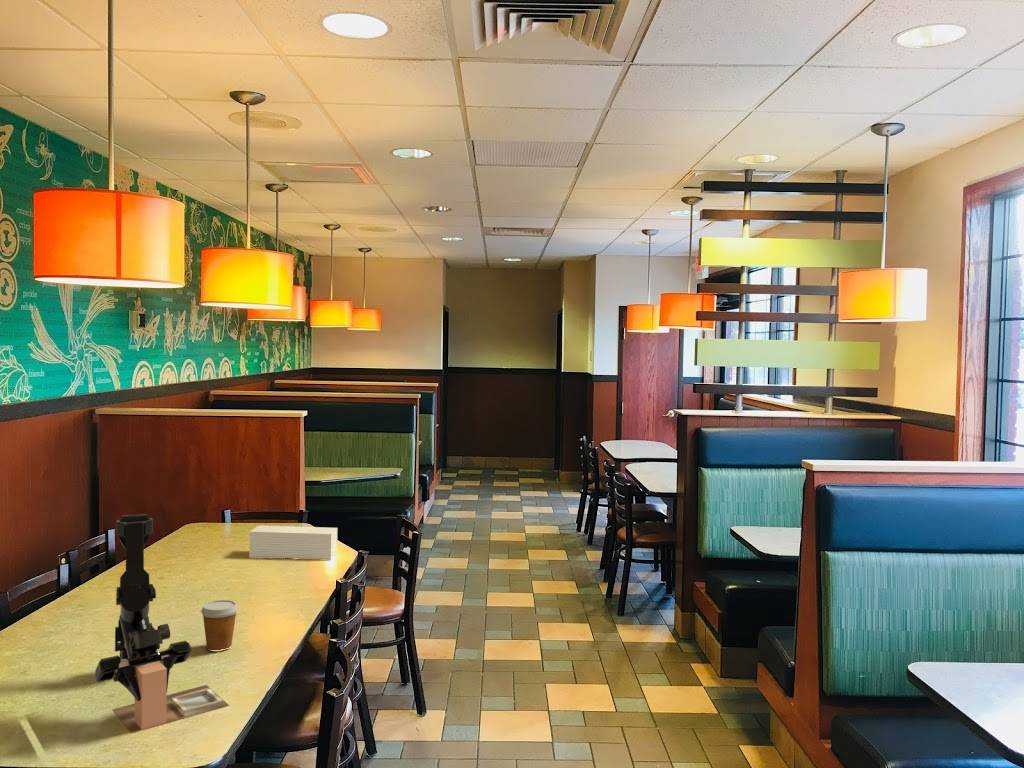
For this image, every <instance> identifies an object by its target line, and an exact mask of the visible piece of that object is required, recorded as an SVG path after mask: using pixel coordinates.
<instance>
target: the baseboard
mask: <svg viewBox="0 0 1024 768" xmlns="http://www.w3.org/2000/svg"><path fill="white" fill-rule="evenodd" d="M226 707H230V704H229V703H227V702H226V701H225V700H224V699H223V698H222V697H221V696H219V694H217V693H216V692H215V691H214V690H213V689H212V688H211V687H210V686H208V685H207V684H205V685H201V686H197V687H194V688H193V687H192V688H189V689H186V690H185V689H184V690H182V691H179V692H174V693H170V694H167V695H166V723H164V724H161V725H157V726H154V727H150V728H147V729H143V730H141V728H140V727H139V726H138V725H137V724H136V722H135V721H134V719H135V703H132V704H127V705H124V706H121V707H117V708H113V709H112V711H113V712H114V714H115V715H116V716H117V717H118V720H119V719H120V721H121V722H122V724H123V725H124V726H125V728H127V730H128V731H129V732H130V733H131V734H135V733H138V732H142V731H145V730H149V729H152V728H156V727H159V726H163V725H166V724H169V723H170V724H171V723H173V722H177V721H181V720H185V719H187V718H188V719H189V718H191V717H195V716H198V715H201V714H205V713H208V712H212V711H216V710H219V709H223V708H226Z"/></svg>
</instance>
